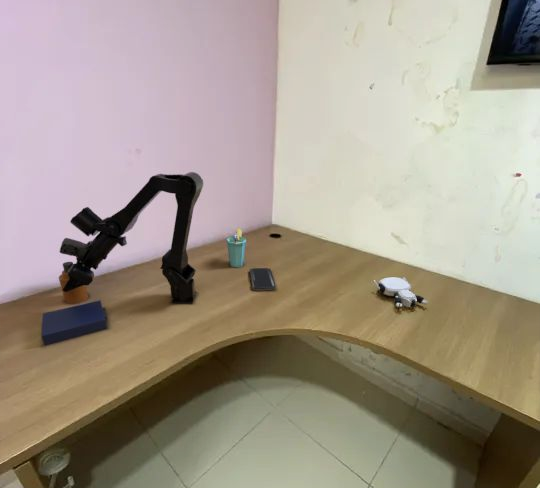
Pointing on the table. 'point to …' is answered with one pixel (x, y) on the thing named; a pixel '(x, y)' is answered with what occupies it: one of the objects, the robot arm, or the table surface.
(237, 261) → the cup
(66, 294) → the bottle
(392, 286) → the robot toy
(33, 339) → the table surface
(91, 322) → the case
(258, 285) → the phone
